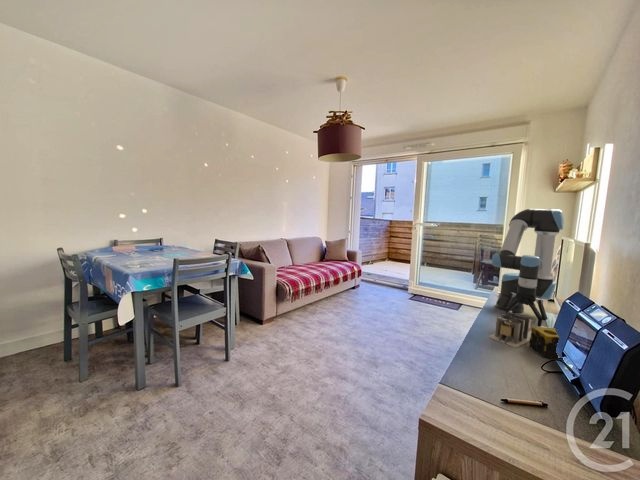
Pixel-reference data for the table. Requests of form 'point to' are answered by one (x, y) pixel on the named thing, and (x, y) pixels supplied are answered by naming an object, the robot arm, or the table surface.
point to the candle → (544, 341)
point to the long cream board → (509, 340)
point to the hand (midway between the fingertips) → (522, 327)
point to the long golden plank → (509, 329)
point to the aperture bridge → (517, 325)
